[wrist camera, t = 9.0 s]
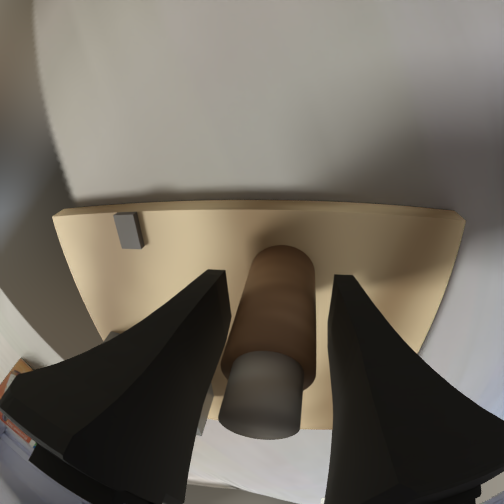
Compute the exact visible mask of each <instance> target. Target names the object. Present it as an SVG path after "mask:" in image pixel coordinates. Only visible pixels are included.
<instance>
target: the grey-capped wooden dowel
mask: <svg viewBox="0 0 504 504" xmlns="http://www.w3.org/2000/svg"><path fill="white" fill-rule="evenodd" d="M220 365H221V370H222V373H223V375H224V376H225V377H226V379H227V380H228V383H227V386H226V390H225V393H224V397H223V400H222V404H221V407H220V411H219V415H218V420H219V422H220V423H221V424H222V425H223V426H224V427H225V428H227V429H228V430H230V431H232V432H234V433H236V434H239V435H242V436H246V437H250V438H255V439H264V440H275V439H283V438H287V437H290V436H293V435H295V434H296V433H297V432H298V431H299V430H300V424H301V412H302V399H303V391H304V390H306V389H307V388H308V387H309V386H311V384H312V383H313V382H314V380H315V377H316V288H315V269H314V265H313V263H312V261H311V259H310V258H309V257H308V256H307V255H306V254H305V253H304V252H303V251H301V250H299V249H297V248H295V247H292V246H287V245H275V246H271V247H268V248H266V249H264V250H262V251H261V252H259V253H258V254H257V255H256V257H255V258H254V260H253V262H252V264H251V267H250V271H249V274H248V277H247V280H246V283H245V286H244V290H243V293H242V296H241V299H240V302H239V305H238V309H237V312H236V315H235V318H234V321H233V324H232V328H231V331H230V334H229V337H228V340H227V343H226V347H225V350H224V353H223V356H222V359H221V364H220Z"/></svg>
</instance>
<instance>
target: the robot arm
mask: <svg viewBox="0 0 504 504" xmlns="http://www.w3.org/2000/svg"><path fill="white" fill-rule="evenodd" d="M231 317H232V315H231V308H230V300H229V293H228V285H227V277H226V270H215V269H208V270H206V271H205V272H203V273H202V274H201V275H200V276H198V277H197V278H196V279H195V280H194V281H192V282H191V283H190V284H189V285H187V286H186V287H185V288H184V289H183V290H181V291H180V292H179V293H178V294H176V295H175V296H174V297H173V298H171V299H170V300H169V301H168V302H166V303H165V304H164V305H162V306H161V307H159V308H158V309H157V310H155V311H154V312H153V313H151V314H150V315H149V316H147V317H146V318H144V319H143V320H142V321H140V322H139V323H137V324H136V325H134V326H132V327H131V328H129V329H128V330H126V331H124V332H123V333H121V334H119V335H118V336H116V337H114V338H112V339H110V340H109V341H107V342H105V343H103V344H101V345H99V346H97V347H94V348H92V349H91V350H89V351H87V352H84V353H82V354H80V355H77V356H75V357H72V358H70V359H67V360H65V361H62V362H59V363H57V364H54V365H51V366H48V367H44V368H41V369H37V370H33V371H29V372H26V373H21V374H18V375H17V376H16V377H15V378H14V380H13V381H12V383H11V384H10V386H9V387H8V388H7V390H6V391H5V393H4V394H3V396H2V397H1V399H0V412H1V413H2V414H4V415H5V416H6V417H7V418H8V419H9V420H10V421H11V422H12V423H13V424H14V425H16V426H17V427H18V428H19V429H20V430H21V431H22V432H24V433H25V434H26V435H27V436H29V437H30V438H31V439H32V440H34V441H35V442H36V443H37V445H36V447H35V448H33V447H31V445H30V444H29V443H28V442H26V441H25V440H24V439H23V438H22V437H20V436H19V435H18V434H17V433H16V432H14V431H13V430H12V429H11V428H10V427H9V426H7V425H6V424H5V423H4V422H2V421H1V420H0V504H162V503H163V504H183V503H184V500H185V492H186V485H187V479H188V472H189V467H190V462H191V456H192V451H193V446H194V442H195V437H196V433H197V428H198V424H199V420H200V416H201V412H202V408H203V404H204V401H205V398H206V395H207V392H208V389H209V387H210V384H211V381H212V379H213V376H214V373H215V371H216V368H217V365H218V363H219V360H220V357H221V355H222V352H223V349H224V346H225V343H226V340H227V336H228V331H229V327H230V322H231ZM327 348H328V358H329V368H330V378H331V390H332V402H333V427H332V443H331V455H330V465H329V473H328V481H327V488H326V494H325V500H324V504H476V503H475V498H477V497H480V495H481V484H483V483H485V482H487V481H488V480H490V479H492V478H494V477H495V476H497V475H499V474H500V473H502V472H503V471H504V420H502V419H500V418H498V417H497V416H495V415H493V414H492V413H490V412H488V411H487V410H485V409H483V408H482V407H480V406H479V405H477V404H476V403H475V402H473V401H472V400H470V399H469V398H468V397H466V396H465V395H463V394H462V393H461V392H460V391H458V390H457V389H456V388H454V387H453V386H452V385H451V384H449V383H448V382H447V381H446V380H445V379H444V378H442V377H441V376H440V375H439V374H438V373H437V372H435V371H434V370H433V369H432V368H431V367H430V366H429V365H428V364H427V363H426V362H425V361H424V360H423V359H422V358H421V357H420V356H419V355H418V354H417V353H416V352H415V351H414V350H413V349H412V348H411V347H410V346H409V345H408V344H407V343H406V342H405V341H404V340H403V339H402V338H401V336H400V335H399V334H398V333H397V332H396V331H395V330H394V328H393V327H392V326H391V325H390V323H389V322H388V321H387V320H386V318H385V317H384V316H383V315H382V313H381V312H380V311H379V309H378V308H377V307H376V306H375V304H374V303H373V302H372V300H371V299H370V297H369V296H368V295H367V293H366V292H365V291H364V289H363V288H362V286H361V285H360V284H359V282H358V281H357V280H356V278H355V277H354V276H353V275H339V274H334V280H333V288H332V295H331V302H330V309H329V315H328V321H327ZM481 504H504V491H502V492H501V493H499V494H497V495H495V496H493V497H492V498H491V499H489V500H487V501H485V502H483V503H481Z"/></svg>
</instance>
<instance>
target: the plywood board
mask: <svg viewBox="0 0 504 504" xmlns="http://www.w3.org/2000/svg"><path fill="white" fill-rule="evenodd" d="M52 218H53V221H54V225H55V228H56V231H57V234H58V237H59V240H60V243H61V246H62V249H63V252H64V255H65V257H66V260H67V263H68V265H69V268H70V270H71V273H72V276H73V278H74V280H75V283H76V285H77V288H78V290H79V292H80V294H81V297H82V299H83V301H84V303H85V305H86V307H87V310H88V312H89V314H90V316H91V318H92V320H93V322H94V324H95V326H96V328H97V330H98V332H99V334H100V336H101V337H102V339H103V341H104V340H105V339H106V337H107V336H108V334H109V333H110V332H111V331H112V332H116V333H119V334H121V333H123V332H124V331H126V330H128V329H129V328H131V327H132V326H134V325H136V324H137V323H139V322H140V321H142V320H143V319H144V318H146V317H147V316H149V315H150V314H151V313H153V312H154V311H155V310H157V309H158V308H159V307H161V306H162V305H164V304H165V303H166V302H168V301H169V300H170V299H171V298H173V297H174V296H175V295H176V294H178V293H179V292H180V291H181V290H183V289H184V288H185V287H186V286H187V285H189V284H190V283H191V282H192V281H194V280H195V279H196V278H197V277H198V276H200V275H201V274H202V273H203V272H205V271H206V270H208V269H215V270H226V277H227V285H228V293H229V300H230V308H231V315H232V317H231V322H230V327H229V331H228V336H227V340H228V337H229V334H230V331H231V328H232V324H233V321H234V318H235V315H236V312H237V309H238V305H239V302H240V299H241V296H242V293H243V290H244V286H245V283H246V280H247V277H248V274H249V271H250V267H251V264H252V262H253V260H254V258H255V257H256V255H257V254H258V253H259V252H261V251H262V250H264V249H266V248H268V247H271V246H275V245H287V246H292V247H295V248H297V249H299V250H301V251H303V252H304V253H305V254H306V255H307V256H308V257H309V258H310V259H311V261H312V263H313V265H314V269H315V288H316V377H315V380H314V382H313V383H312V384H311V386H309V387H308V388H307V389H306V390H304V391H303V399H302V412H301V424H300V429H332V427H333V402H332V390H331V378H330V368H329V358H328V348H327V321H328V315H329V309H330V302H331V295H332V288H333V280H334V274H339V275H353V276H354V277H355V278H356V280H357V281H358V282H359V284H360V285H361V286H362V288H363V289H364V291H365V292H366V293H367V295H368V296H369V297H370V299H371V300H372V302H373V303H374V304H375V306H376V307H377V308H378V309H379V311H380V312H381V313H382V315H383V316H384V317H385V318H386V320H387V321H388V322H389V323H390V325H391V326H392V327H393V328H394V330H395V331H396V332H397V333H398V334H399V335H400V336H401V338H402V339H403V340H404V341H405V342H406V343H407V344H408V345H409V346H410V347H411V348H412V349H413V350H414V351H415V352H416V353H418V351H419V349H420V347H421V345H422V343H423V341H424V339H425V337H426V335H427V333H428V331H429V328H430V326H431V324H432V322H433V319H434V317H435V315H436V312H437V310H438V307H439V305H440V302H441V300H442V297H443V295H444V292H445V289H446V287H447V284H448V281H449V278H450V275H451V272H452V269H453V266H454V263H455V260H456V256H457V253H458V249H459V246H460V242H461V239H462V235H463V231H464V227H465V223H466V221H465V220H464V219H463V218H462V217H461V216H460V215H459V214H458V213H456V212H455V211H452V210H442V209H433V208H422V207H411V206H399V205H385V204H370V203H352V202H330V201H299V200H201V201H170V202H148V203H131V204H115V205H102V206H90V207H78V208H69V209H63V210H62V211H60V212H59V213H57V214H56V215H54V216H52ZM227 340H226V343H227ZM226 343H225V346H224V349H223V352H222V355H221V357H220V360H219V363H218V365H217V368H216V371H215V373H214V376H213V379H212V381H211V383H212V389H213V394H214V398H213V401H212V404H211V408H210V411H209V414H208V417H207V418H208V419H213V420H218V415H219V411H220V407H221V404H222V400H223V397H224V393H225V390H226V386H227V383H228V380H227V379H226V377H225V376H224V375H223V373H222V370H221V365H220V364H221V359H222V356H223V353H224V350H225V347H226Z"/></svg>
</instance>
